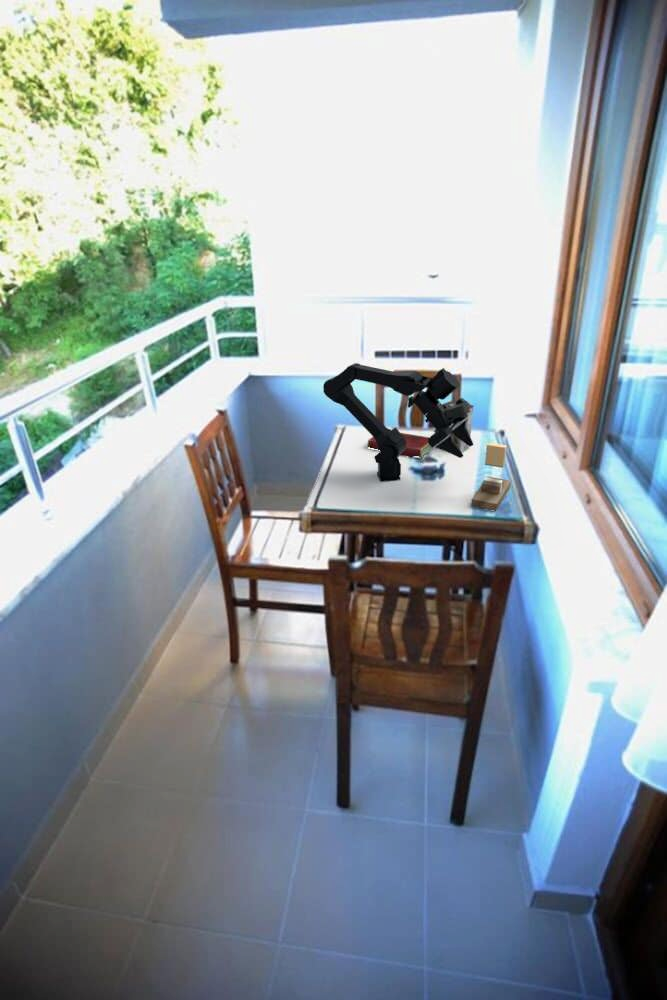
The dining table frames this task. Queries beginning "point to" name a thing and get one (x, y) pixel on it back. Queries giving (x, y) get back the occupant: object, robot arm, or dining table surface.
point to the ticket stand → (490, 493)
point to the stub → (495, 455)
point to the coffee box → (460, 443)
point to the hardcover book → (409, 445)
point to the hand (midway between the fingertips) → (467, 451)
